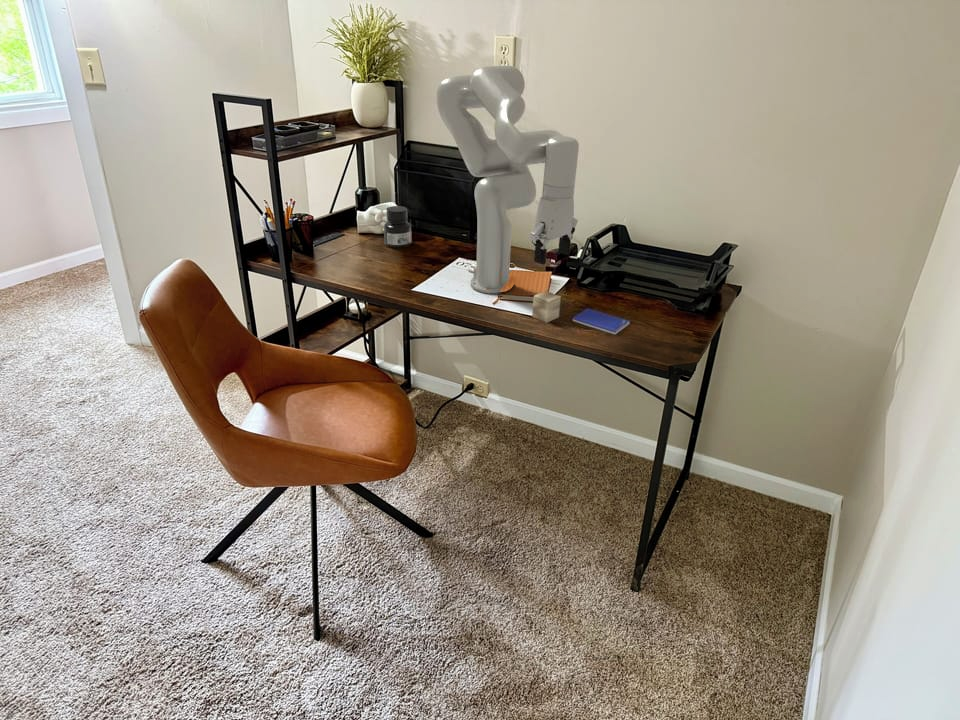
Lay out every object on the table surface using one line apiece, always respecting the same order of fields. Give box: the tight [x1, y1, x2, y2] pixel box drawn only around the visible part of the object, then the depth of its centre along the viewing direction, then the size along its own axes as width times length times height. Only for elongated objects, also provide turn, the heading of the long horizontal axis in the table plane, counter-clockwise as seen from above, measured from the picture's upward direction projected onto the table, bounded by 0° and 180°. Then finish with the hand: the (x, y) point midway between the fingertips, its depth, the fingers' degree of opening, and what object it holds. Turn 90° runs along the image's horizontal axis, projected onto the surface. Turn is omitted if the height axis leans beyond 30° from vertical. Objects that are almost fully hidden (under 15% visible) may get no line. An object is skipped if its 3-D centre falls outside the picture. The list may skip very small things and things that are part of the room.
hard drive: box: [572, 308, 631, 335], centre depth 175 cm, size 2×8×12 cm
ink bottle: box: [383, 205, 412, 249], centre depth 221 cm, size 10×9×12 cm
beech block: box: [531, 290, 562, 323], centre depth 175 cm, size 5×5×6 cm
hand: (551, 258), depth 169 cm, fingers open, 9 cm apart
